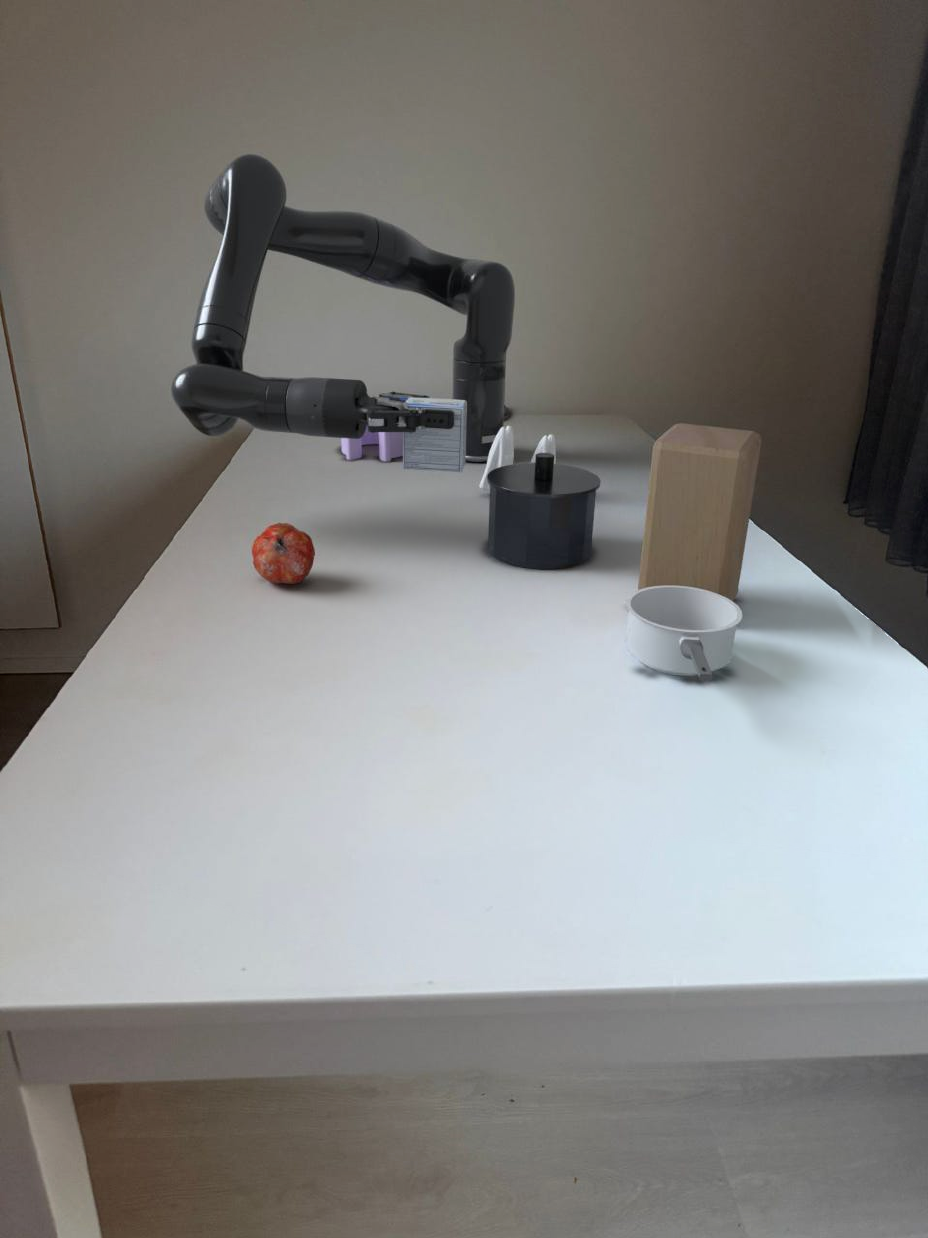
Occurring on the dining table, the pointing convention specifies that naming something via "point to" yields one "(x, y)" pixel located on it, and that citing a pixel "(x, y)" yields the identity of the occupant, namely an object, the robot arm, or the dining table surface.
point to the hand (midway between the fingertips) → (456, 415)
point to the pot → (540, 529)
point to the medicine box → (437, 439)
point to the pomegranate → (283, 554)
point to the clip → (387, 443)
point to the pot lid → (543, 479)
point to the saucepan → (681, 629)
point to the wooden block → (699, 508)
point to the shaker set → (511, 453)
